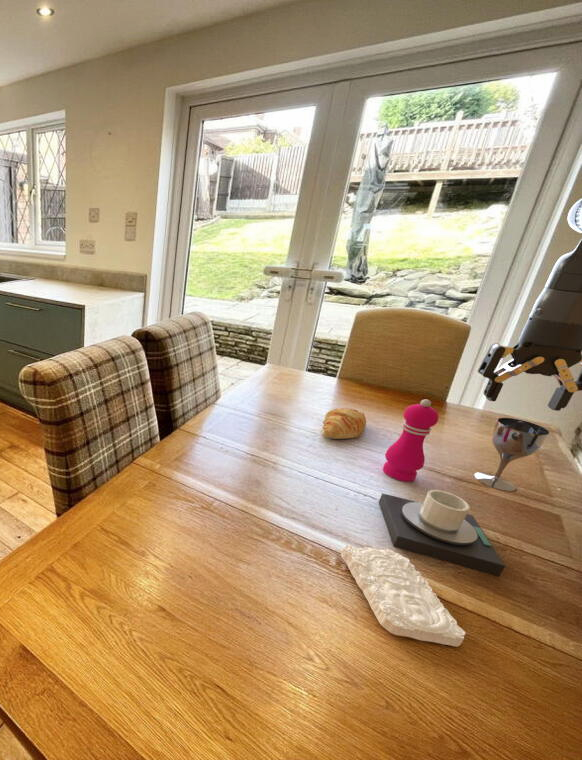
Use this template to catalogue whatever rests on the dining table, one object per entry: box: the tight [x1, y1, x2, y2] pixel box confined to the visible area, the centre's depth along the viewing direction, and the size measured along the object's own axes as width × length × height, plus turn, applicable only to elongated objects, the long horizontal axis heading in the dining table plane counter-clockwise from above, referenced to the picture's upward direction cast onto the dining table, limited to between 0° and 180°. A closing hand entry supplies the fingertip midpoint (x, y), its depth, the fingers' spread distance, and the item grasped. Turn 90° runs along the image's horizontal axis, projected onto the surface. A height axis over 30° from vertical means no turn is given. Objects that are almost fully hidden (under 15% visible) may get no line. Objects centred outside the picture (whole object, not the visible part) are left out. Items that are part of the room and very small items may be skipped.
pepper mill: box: [382, 399, 440, 483], centre depth 92 cm, size 7×7×20 cm
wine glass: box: [473, 417, 550, 492], centre depth 90 cm, size 8×8×15 cm
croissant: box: [321, 407, 367, 440], centre depth 114 cm, size 21×10×8 cm, turn 124°
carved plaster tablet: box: [340, 544, 466, 648], centre depth 64 cm, size 11×16×3 cm
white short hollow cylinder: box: [420, 489, 471, 531], centre depth 75 cm, size 6×6×5 cm
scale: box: [378, 493, 506, 577], centre depth 76 cm, size 15×14×3 cm
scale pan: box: [402, 501, 478, 545], centre depth 76 cm, size 11×11×1 cm
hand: (520, 404), depth 72 cm, fingers open, 8 cm apart
